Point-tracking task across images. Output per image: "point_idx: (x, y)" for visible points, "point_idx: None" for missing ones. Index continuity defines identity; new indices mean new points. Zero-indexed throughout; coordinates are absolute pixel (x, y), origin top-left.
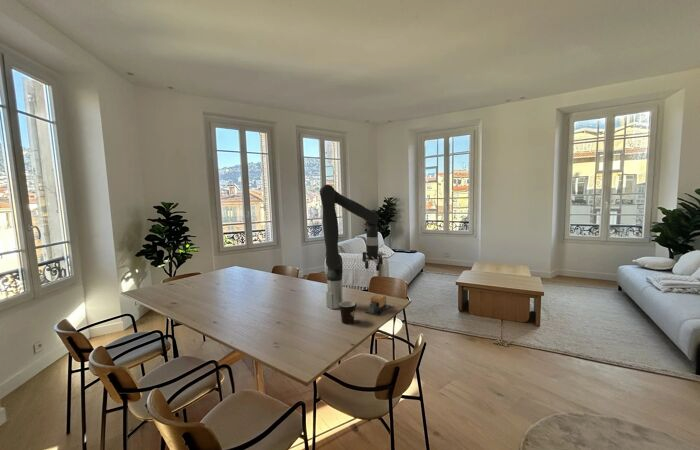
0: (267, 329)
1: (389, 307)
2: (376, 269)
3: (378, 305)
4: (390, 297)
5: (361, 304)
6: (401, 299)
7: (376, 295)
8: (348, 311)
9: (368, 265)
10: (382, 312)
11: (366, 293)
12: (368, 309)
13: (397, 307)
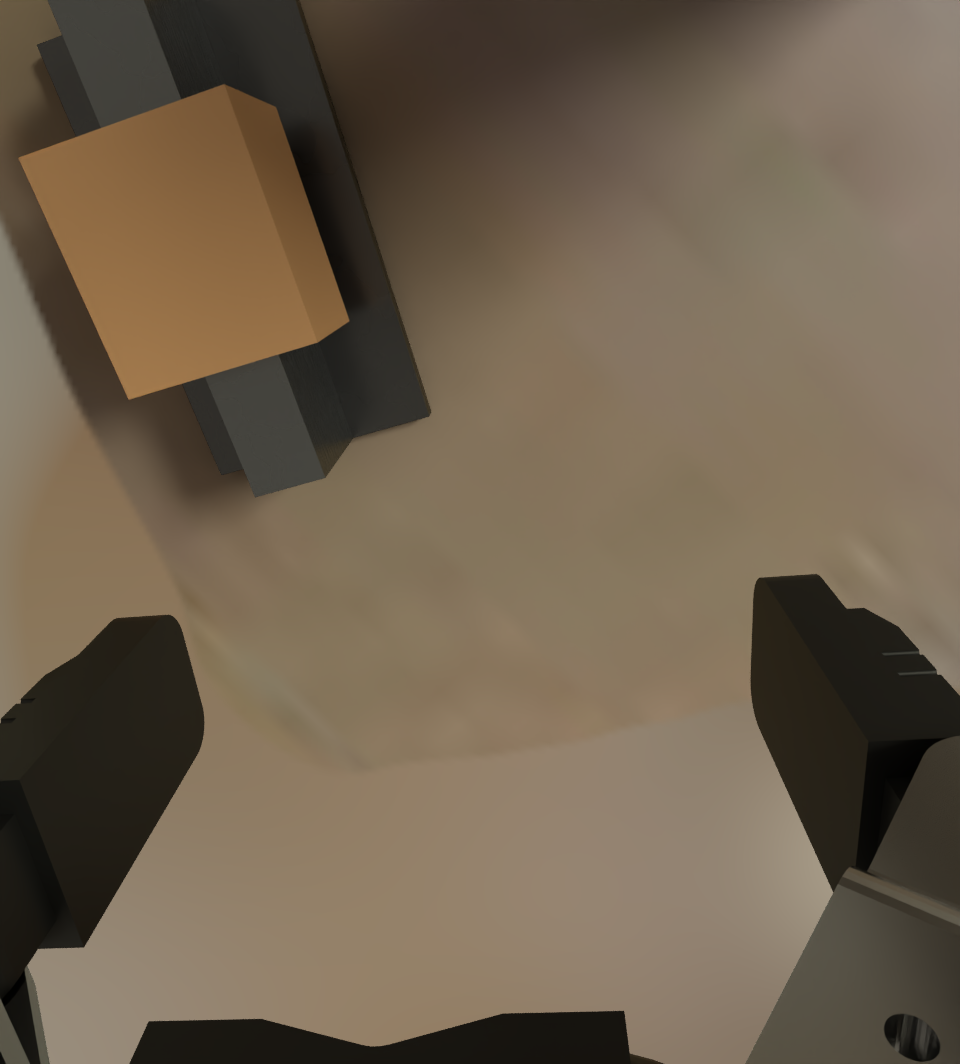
0: None
1: (207, 426)
2: (121, 641)
3: None
4: (500, 733)
5: (619, 215)
6: (343, 764)
7: (253, 288)
8: None
9: (792, 796)
10: None
11: None
12: (315, 76)
13: (153, 514)
